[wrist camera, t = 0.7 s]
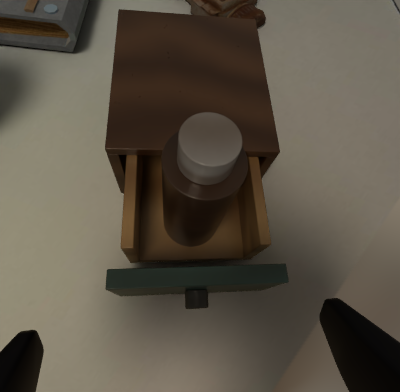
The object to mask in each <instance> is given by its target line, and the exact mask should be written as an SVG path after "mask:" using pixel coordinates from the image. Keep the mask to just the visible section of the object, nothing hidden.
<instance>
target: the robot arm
mask: <svg viewBox="0 0 400 392" xmlns="http://www.w3.org/2000/svg"><path fill="white" fill-rule="evenodd" d="M319 318H320V323H321V325H322V328H323V331H324V333H325V336H326V339H327V341H328V344H329V346H330V349H331V352H332V354H333V357H334V359H335V362H336V364H337V367H338V369H339V371H340V374H341V376H342V378H343V380H344V382H345V384H346V386H347V388H348V390H349V392H400V342H398V341H397V340H396V339H394V338H393V337H391V336H390V335H389V334H387V333H386V332H384V331H383V330H382V329H380V328H379V327H378V326H376V325H375V324H373V323H372V322H371V321H369V320H368V319H367V318H365V317H364V316H362V315H361V314H359V313H358V312H357V311H355V310H354V309H353V308H351V307H350V306H348V305H347V304H346V303H344V302H343V301H342V300H340V299H338V298H331V299H326V300H325V301H324V303H323V306H322V309H321V312H320V316H319ZM43 352H44V349H43V345H42V342H41V340H40V337H39V335H38V333H37V331H36V330H28V331H21V332H19V333H18V334H17V335H16V336H15V337H14V338H13V339H12V340H11V341H10V342H9V343H8V344H7V345H6V346H5V348H4V349H3V350H2V351H1V352H0V392H36V387H37V382H38V378H39V373H40V368H41V363H42V358H43Z"/></svg>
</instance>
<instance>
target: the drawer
mask: <svg viewBox="0 0 400 392" xmlns="http://www.w3.org/2000/svg"><path fill="white" fill-rule="evenodd" d="M161 157H162V155H127V156H126V172H125V188H124V204H123V220H122V236H121V249H122V251H123V252H124V254H125V255H126V257H127V258H128V260H129V261H130V263H148V262H182V261H216V260H250V259H252V258H253V257H254V256H256V255H257V254H259V253H260V252H261V251H263V250H264V249H266V248H267V247H269V246H270V245H271V239H270V232H269V226H268V219H267V212H266V206H265V199H264V192H263V186H262V179H261V172H260V166H259V159H258V157H247V160H248V171H247V175H246V178H245V180H244V182H243V184H242V186H241V187H240V189H239V191H238V193H237V195H236V196H235V198H234V200H233V202H232V203H231V205H230V207H229V209H228V210H227V212H226V214H225V216H224V217H223V219H222V221H221V223H220V225H219V226H218V228H217V230H216V232H215V233H214V235H213V236H212V238H211V239H210V240H209V241H207V242H206V243H204V244H202V245H199V246H194V247H188V246H183V245H180V244H178V243H176V242H175V241H173V240H172V239H171V238H170V237H169V235H168V234H167V232H166V230H165V228H164V222H163V195H162V167H161ZM288 282H289V281H288V275H287V269H286V264H260V265H228V266H197V267H165V268H133V269H108V270H107V277H106V290H108V291H110V292H112V293H114V294H117V295H119V296H143V295H166V294H185V308H186V309H199V308H208V293H213V292H236V291H259V290H264V289H268V288H271V287H274V286H278V285H281V284H285V283H288Z"/></svg>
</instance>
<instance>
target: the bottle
mask: <svg viewBox="0 0 400 392" xmlns="http://www.w3.org/2000/svg"><path fill="white" fill-rule="evenodd" d="M161 167H162V195H163V222H164V228H165V230H166V232H167V234H168V235H169V237H170V238H171V239H172V240H173V241H175V242H176V243H178V244H180V245H183V246H188V247H194V246H199V245H202V244H204V243H206V242H207V241H209V240H210V239H211V238H212V236H213V235H214V233H215V232H216V230H217V228H218V226H219V225H220V223H221V221H222V219H223V217H224V216H225V214H226V212H227V210H228V209H229V207H230V205H231V203H232V202H233V200H234V198H235V196H236V195H237V193H238V191H239V189H240V187H241V186H242V184H243V182H244V180H245V178H246V175H247V171H248V160H247V155H246V153H245V150H244V148H243V146H242V135H241V133H240V130H239V129H238V127H237V126H236V124H235V123H234V122H233V121H231V120H230V119H229V118H227V117H225V116H223V115H221V114H218V113H213V112H203V113H198V114H195V115H193V116H191V117H189V118H188V119H187V120H186V121H185V122H184V123H183V124H182V126H181V127H180V130H179V131H178V132H176V133H175V134H174V135H172V136H171V137H170V139H169V140H168V141H167V143H166V144H165V146H164V149H163V152H162V157H161Z"/></svg>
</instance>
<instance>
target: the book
mask: <svg viewBox="0 0 400 392" xmlns="http://www.w3.org/2000/svg"><path fill="white" fill-rule="evenodd" d="M88 2H89V0H0V44H6V45H15V46H23V47H32V48H41V49H50V50H59V51H68V52H73V50H74V47H75V44H76V42H77V39H78V35H79V32H80V29H81V25H82V22H83V19H84V15H85V12H86V8H87V5H88Z"/></svg>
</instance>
